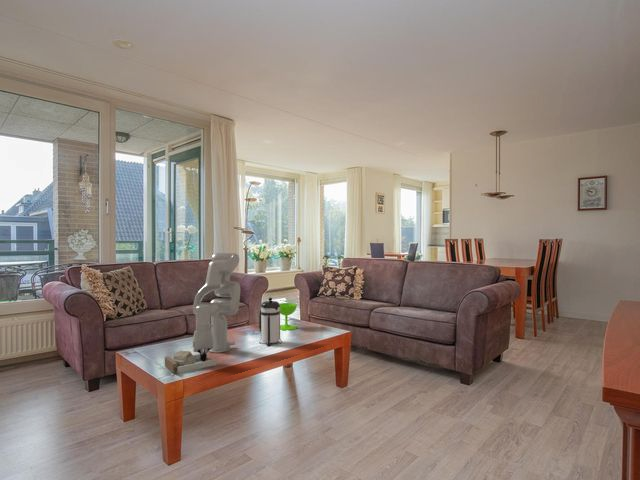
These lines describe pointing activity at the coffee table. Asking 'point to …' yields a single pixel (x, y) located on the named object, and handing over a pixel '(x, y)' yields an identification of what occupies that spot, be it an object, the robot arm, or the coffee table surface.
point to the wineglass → (287, 310)
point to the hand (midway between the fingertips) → (203, 360)
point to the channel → (172, 365)
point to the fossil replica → (183, 358)
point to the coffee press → (270, 322)
